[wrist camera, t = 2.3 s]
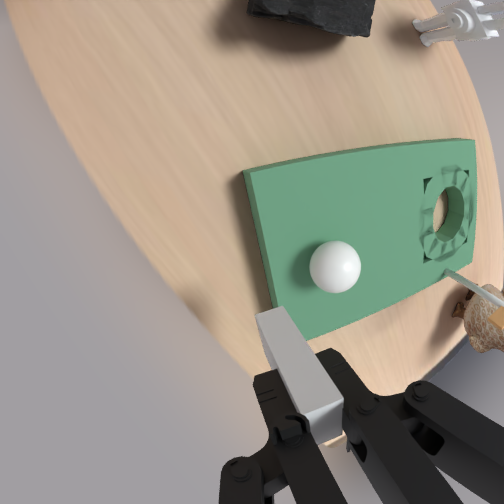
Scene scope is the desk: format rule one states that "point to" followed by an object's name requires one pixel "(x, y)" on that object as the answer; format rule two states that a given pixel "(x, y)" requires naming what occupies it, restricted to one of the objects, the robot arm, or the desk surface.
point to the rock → (319, 14)
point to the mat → (366, 226)
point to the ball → (335, 266)
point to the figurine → (481, 320)
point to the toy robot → (462, 22)
